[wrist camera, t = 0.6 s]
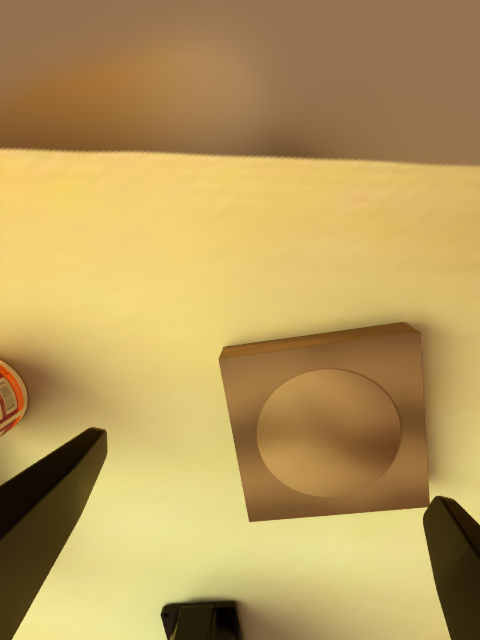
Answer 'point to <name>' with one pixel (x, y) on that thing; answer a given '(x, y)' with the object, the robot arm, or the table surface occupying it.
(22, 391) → the pill bottle
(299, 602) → the table surface
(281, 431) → the base slab
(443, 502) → the robot arm
